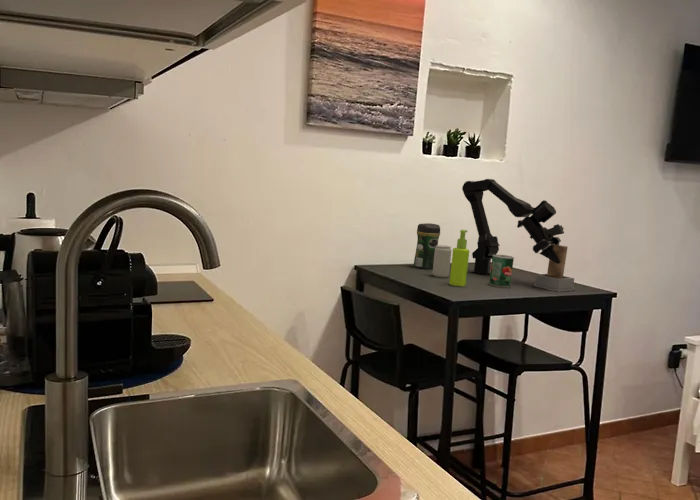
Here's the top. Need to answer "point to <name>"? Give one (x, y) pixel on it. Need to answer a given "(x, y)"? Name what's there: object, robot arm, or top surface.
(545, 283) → the grey square tray
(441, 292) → the top surface
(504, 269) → the canned tomato
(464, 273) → the soap dispenser
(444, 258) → the beverage can
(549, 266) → the brown wooden block
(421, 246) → the coffee jar
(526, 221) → the robot arm
